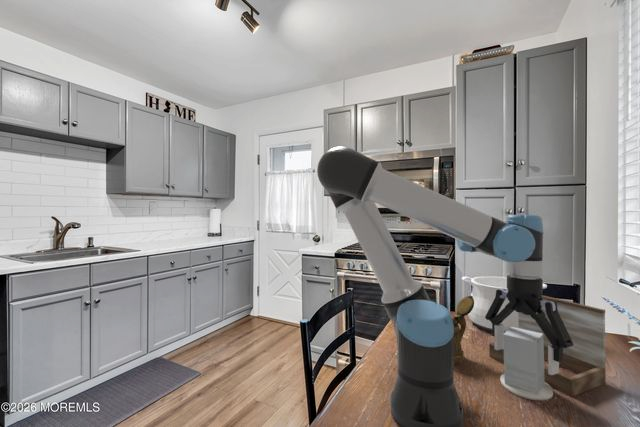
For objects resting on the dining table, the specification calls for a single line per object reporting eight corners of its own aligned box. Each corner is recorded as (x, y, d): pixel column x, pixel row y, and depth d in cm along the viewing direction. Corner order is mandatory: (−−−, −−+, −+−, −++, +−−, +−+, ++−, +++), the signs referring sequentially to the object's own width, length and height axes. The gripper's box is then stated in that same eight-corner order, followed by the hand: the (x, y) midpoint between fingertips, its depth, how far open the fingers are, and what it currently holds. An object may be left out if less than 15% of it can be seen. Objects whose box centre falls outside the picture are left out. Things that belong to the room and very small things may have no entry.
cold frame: (572, 396, 72) (571, 317, 72) (489, 356, 93) (488, 295, 93) (606, 383, 78) (605, 309, 78) (520, 348, 98) (520, 290, 98)
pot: (458, 329, 115) (457, 283, 115) (465, 310, 136) (465, 271, 136) (551, 345, 100) (551, 292, 100) (544, 322, 121) (543, 278, 121)
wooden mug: (483, 359, 91) (483, 299, 91) (443, 365, 88) (442, 303, 88) (463, 346, 100) (463, 292, 100) (426, 351, 97) (425, 294, 97)
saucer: (533, 405, 69) (533, 401, 69) (490, 380, 80) (490, 377, 80) (563, 393, 74) (563, 390, 74) (519, 372, 84) (518, 369, 84)
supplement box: (545, 383, 77) (544, 333, 77) (538, 395, 72) (537, 342, 72) (512, 372, 82) (511, 325, 82) (503, 383, 77) (502, 333, 77)
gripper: (592, 285, 66) (592, 382, 66) (490, 266, 89) (490, 338, 90) (571, 288, 64) (571, 390, 64) (471, 268, 87) (471, 342, 87)
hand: (524, 360), depth 77 cm, fingers open, 13 cm apart
